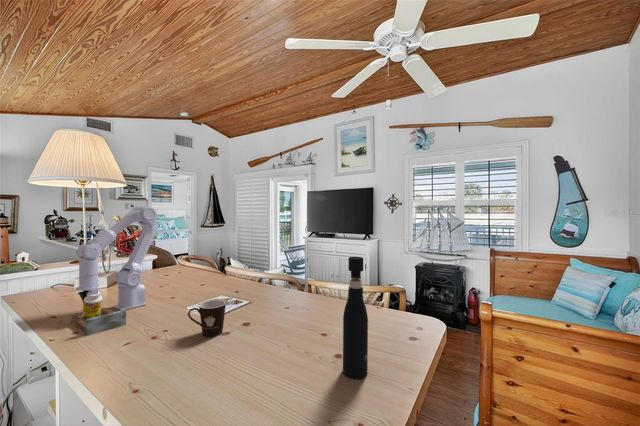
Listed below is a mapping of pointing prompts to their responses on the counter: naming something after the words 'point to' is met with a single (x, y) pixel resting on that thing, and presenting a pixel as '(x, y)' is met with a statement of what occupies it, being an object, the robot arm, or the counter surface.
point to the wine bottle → (355, 325)
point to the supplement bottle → (92, 305)
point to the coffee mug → (211, 317)
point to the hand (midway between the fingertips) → (88, 309)
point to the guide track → (100, 322)
